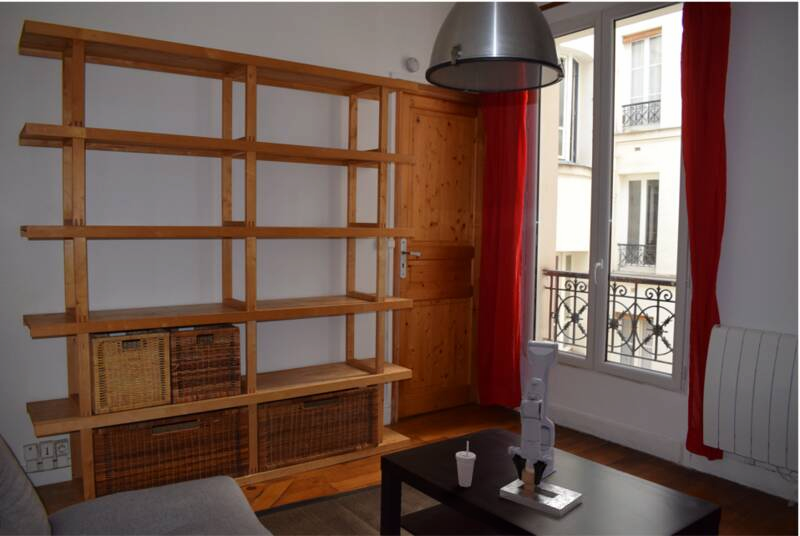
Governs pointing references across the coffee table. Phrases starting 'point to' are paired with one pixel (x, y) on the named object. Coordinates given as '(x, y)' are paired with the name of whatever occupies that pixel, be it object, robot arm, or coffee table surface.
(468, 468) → the smoothie
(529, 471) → the peg
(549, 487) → the keyhole plate
